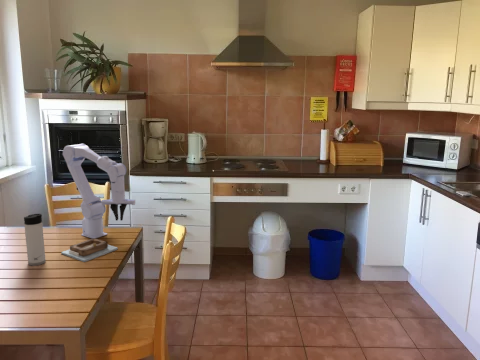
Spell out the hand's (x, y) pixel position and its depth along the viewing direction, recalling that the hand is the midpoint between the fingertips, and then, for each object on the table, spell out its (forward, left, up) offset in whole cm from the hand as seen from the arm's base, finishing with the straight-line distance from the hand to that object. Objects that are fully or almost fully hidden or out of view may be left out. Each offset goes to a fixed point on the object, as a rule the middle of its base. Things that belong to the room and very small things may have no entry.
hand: (119, 219), depth 189 cm
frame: (0, -17, -9) cm, 19 cm away
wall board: (0, -17, -10) cm, 19 cm away
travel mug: (-7, -36, -10) cm, 38 cm away
